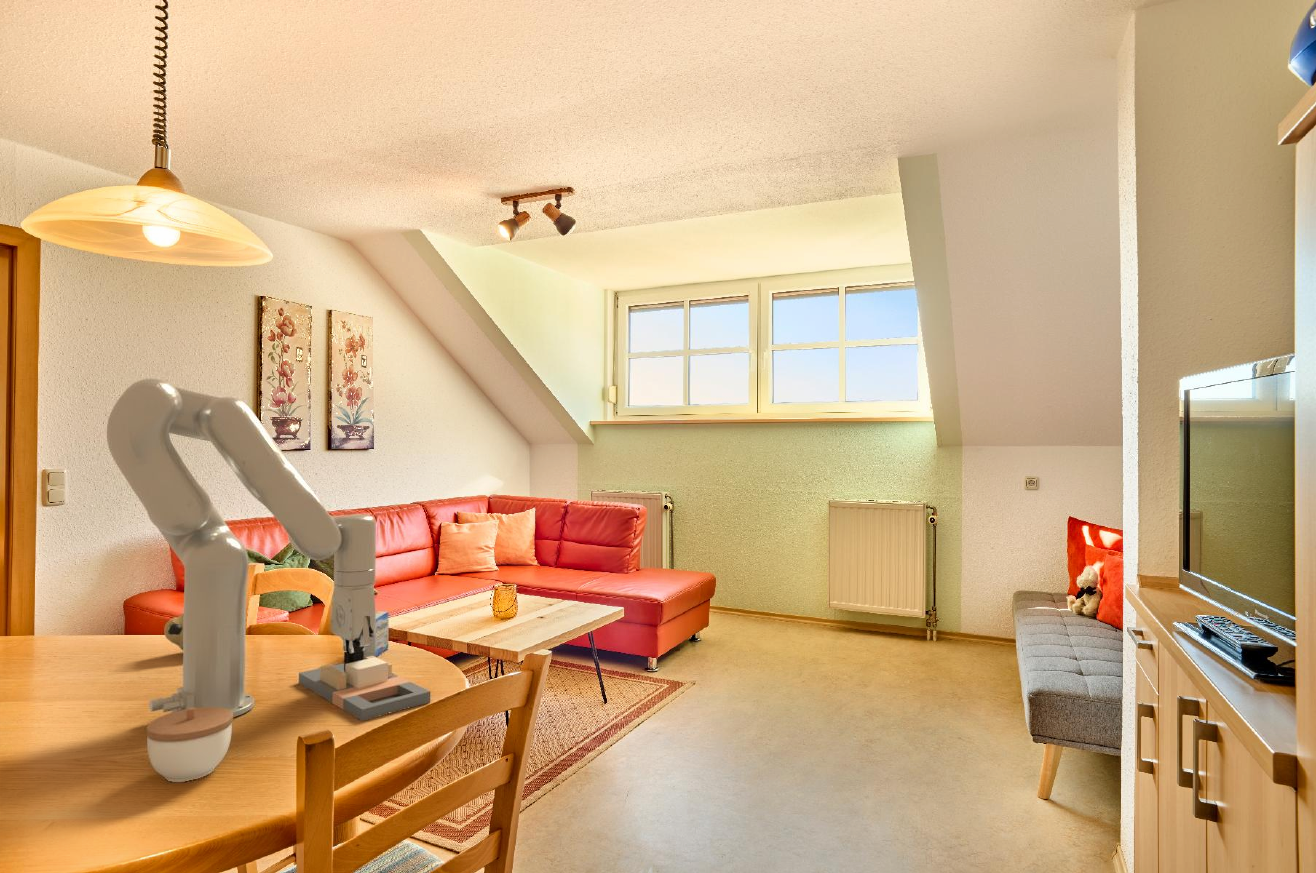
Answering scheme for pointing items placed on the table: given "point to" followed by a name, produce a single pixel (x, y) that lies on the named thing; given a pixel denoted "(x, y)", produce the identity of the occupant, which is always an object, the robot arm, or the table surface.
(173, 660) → the table surface
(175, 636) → the toy pig
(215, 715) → the lidded jar
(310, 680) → the deck
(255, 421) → the robot arm
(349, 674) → the block
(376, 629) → the medicine box
